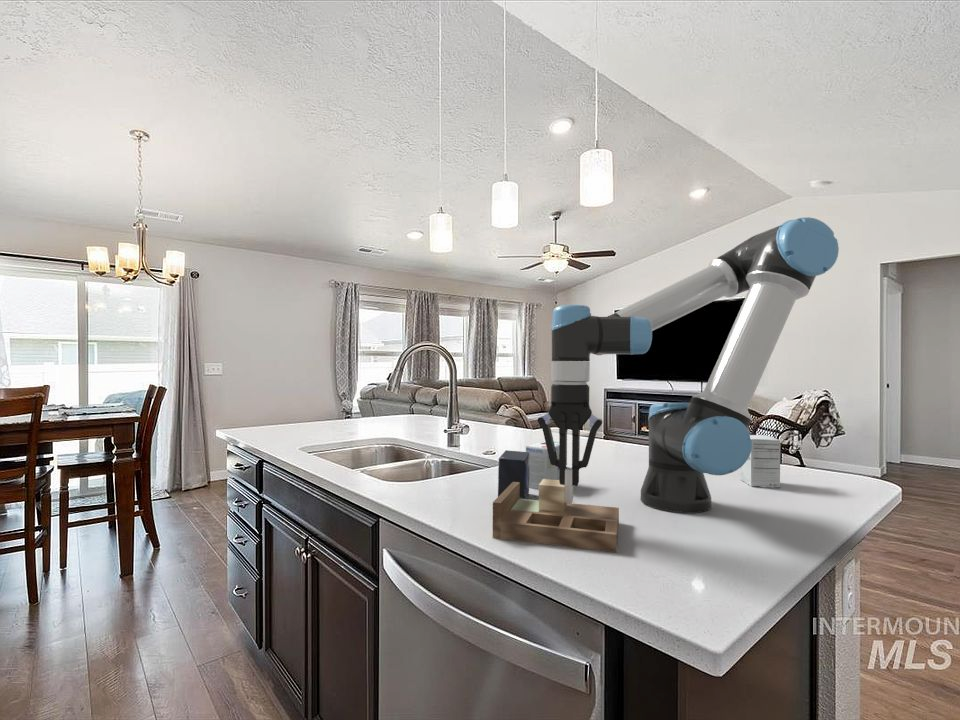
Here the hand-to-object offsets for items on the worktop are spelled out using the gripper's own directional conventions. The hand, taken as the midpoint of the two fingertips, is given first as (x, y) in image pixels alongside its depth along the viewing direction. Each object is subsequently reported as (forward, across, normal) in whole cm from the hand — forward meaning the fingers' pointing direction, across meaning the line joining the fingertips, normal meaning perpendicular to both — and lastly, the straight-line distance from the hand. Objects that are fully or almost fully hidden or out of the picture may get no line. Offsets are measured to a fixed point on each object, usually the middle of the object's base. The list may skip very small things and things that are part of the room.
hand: (568, 501), depth 99 cm
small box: (+5, +14, -14) cm, 21 cm away
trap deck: (+5, +2, +4) cm, 6 cm away
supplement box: (+5, -45, -48) cm, 66 cm away
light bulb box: (+5, +9, -29) cm, 31 cm away
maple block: (+2, +3, 0) cm, 4 cm away
